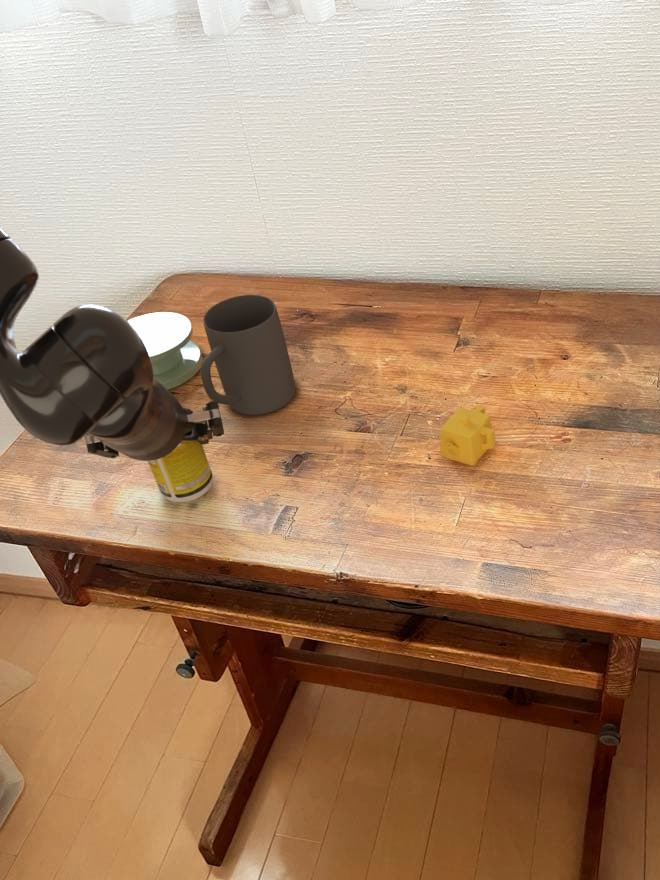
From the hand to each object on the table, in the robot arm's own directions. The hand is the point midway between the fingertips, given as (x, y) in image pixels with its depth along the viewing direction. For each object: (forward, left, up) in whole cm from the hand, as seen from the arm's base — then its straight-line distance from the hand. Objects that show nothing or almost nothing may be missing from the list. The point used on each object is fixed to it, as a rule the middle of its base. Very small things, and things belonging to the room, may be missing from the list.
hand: (173, 441), depth 93 cm
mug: (+15, +2, -6) cm, 16 cm away
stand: (+18, +20, -6) cm, 27 cm away
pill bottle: (-1, -1, -6) cm, 6 cm away
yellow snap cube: (+16, -29, -6) cm, 34 cm away
